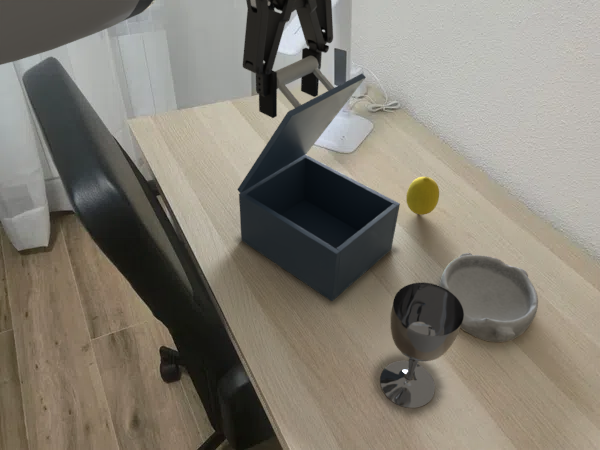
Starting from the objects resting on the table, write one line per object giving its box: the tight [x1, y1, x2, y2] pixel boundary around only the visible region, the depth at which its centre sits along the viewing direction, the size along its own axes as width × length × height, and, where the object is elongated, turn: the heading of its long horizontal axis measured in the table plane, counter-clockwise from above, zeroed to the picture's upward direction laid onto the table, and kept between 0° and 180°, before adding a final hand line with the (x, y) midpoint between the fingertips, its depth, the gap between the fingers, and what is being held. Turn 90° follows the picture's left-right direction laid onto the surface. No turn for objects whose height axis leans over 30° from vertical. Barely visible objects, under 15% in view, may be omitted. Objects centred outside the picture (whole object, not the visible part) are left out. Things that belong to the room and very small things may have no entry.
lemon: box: [405, 176, 440, 216], centre depth 96 cm, size 6×6×8 cm
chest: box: [238, 154, 401, 302], centre depth 89 cm, size 20×16×10 cm
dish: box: [439, 252, 539, 343], centre depth 81 cm, size 14×14×5 cm
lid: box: [237, 56, 367, 194], centre depth 82 cm, size 20×16×8 cm
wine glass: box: [379, 282, 464, 409], centre depth 67 cm, size 8×8×15 cm
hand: (289, 103), depth 80 cm, fingers closed on lid, 8 cm apart
